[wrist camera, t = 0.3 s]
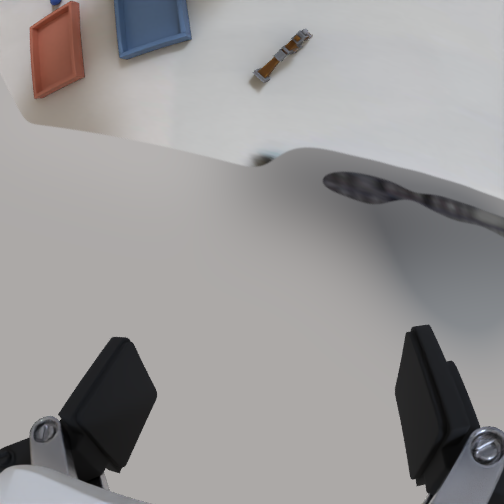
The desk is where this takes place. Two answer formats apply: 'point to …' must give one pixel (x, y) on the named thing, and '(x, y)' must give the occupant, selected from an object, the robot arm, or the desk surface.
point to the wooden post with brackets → (282, 54)
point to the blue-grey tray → (150, 25)
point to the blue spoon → (55, 2)
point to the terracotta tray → (56, 50)
